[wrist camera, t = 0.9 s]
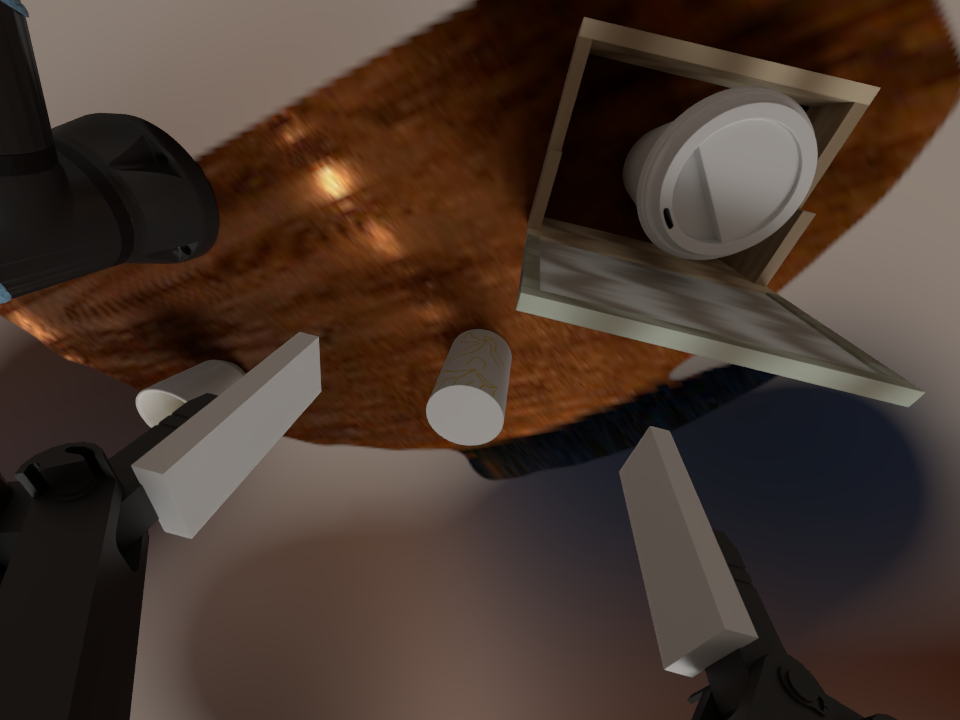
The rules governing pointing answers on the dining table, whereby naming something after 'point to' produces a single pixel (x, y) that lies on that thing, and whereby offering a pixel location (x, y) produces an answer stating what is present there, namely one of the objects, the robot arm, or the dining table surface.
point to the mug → (186, 388)
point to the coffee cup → (722, 172)
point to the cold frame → (699, 283)
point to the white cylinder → (471, 389)
